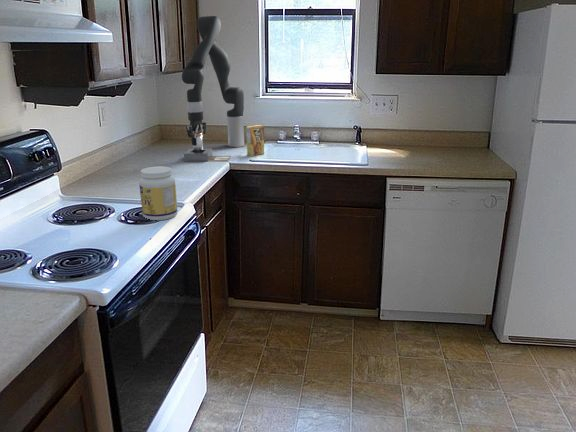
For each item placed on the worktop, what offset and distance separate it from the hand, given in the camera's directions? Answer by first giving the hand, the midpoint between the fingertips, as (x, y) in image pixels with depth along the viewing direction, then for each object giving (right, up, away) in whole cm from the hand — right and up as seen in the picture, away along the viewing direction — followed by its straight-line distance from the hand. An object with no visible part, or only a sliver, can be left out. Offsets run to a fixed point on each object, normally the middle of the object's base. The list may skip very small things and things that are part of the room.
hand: (197, 144), depth 265 cm
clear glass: (0, -5, +2) cm, 5 cm away
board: (+5, -8, +2) cm, 10 cm away
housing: (0, -7, +2) cm, 8 cm away
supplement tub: (+1, -37, -80) cm, 88 cm away
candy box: (+29, -4, +15) cm, 33 cm away
